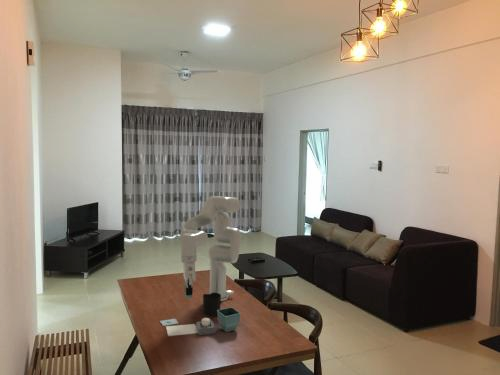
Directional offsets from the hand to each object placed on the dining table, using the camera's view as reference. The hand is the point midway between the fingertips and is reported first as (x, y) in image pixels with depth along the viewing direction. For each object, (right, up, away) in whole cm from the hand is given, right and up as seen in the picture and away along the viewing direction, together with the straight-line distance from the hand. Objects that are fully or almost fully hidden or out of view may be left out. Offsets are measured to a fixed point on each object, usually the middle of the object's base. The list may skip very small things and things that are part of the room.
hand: (188, 293), depth 206 cm
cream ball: (+10, -14, -9) cm, 19 cm away
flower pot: (+20, -16, -7) cm, 27 cm away
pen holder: (+10, -14, +12) cm, 22 cm away
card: (-10, -14, -1) cm, 17 cm away
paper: (-2, -15, -9) cm, 18 cm away
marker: (0, -2, 0) cm, 2 cm away
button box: (+9, -16, -9) cm, 20 cm away
